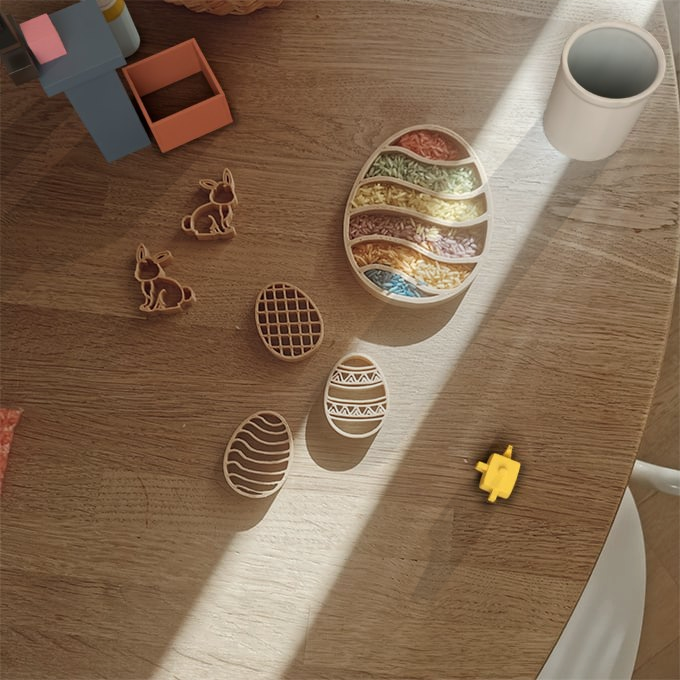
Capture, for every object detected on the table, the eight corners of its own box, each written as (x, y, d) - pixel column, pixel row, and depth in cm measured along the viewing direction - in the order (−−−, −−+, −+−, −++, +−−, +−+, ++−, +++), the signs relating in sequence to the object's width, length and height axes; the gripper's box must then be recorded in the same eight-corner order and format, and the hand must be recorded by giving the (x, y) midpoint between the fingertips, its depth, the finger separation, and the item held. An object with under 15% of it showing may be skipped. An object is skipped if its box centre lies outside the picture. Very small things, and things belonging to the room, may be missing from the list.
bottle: (144, 58, 133) (116, -6, 118) (106, 67, 132) (74, 3, 118) (139, 28, 135) (110, -38, 121) (101, 37, 135) (69, -29, 121)
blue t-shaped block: (103, 180, 124) (42, 88, 102) (80, 128, 128) (16, 27, 106) (168, 152, 126) (122, 54, 103) (143, 101, 129) (93, -5, 107)
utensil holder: (618, 178, 120) (656, 111, 103) (528, 156, 122) (551, 87, 105) (635, 106, 124) (675, 30, 107) (548, 86, 126) (574, 9, 110)
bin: (164, 157, 125) (150, 127, 117) (137, 100, 130) (121, 68, 122) (234, 126, 127) (224, 94, 119) (205, 71, 131) (193, 37, 123)
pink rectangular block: (40, 64, 103) (27, 44, 99) (32, 44, 104) (18, 24, 101) (67, 53, 104) (55, 33, 100) (58, 33, 105) (46, 12, 101)
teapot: (483, 442, 106) (488, 434, 101) (522, 457, 105) (528, 450, 100) (464, 493, 104) (469, 488, 99) (503, 509, 103) (509, 505, 98)
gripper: (-51, -92, 74) (48, 66, 97) (-90, -187, 80) (13, -16, 102) (-122, -64, 74) (-6, 89, 96) (-157, -162, 79) (-39, 5, 101)
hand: (4, 35), depth 99 cm, fingers closed on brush, 3 cm apart
